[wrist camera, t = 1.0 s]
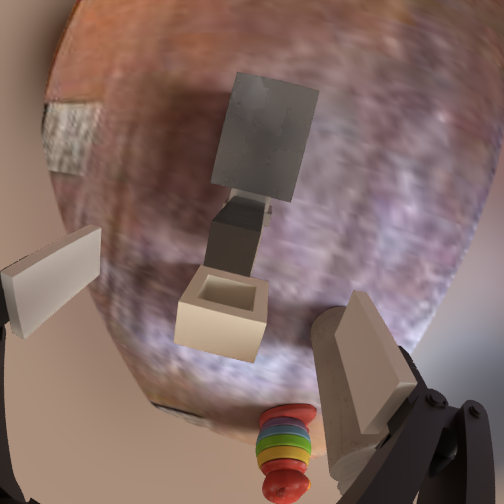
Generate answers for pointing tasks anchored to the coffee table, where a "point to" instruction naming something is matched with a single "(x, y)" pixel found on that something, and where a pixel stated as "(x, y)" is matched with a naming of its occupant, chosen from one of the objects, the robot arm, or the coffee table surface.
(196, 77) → the coffee table surface
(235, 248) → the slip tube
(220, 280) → the socket block
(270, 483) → the stacking bear
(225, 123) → the grey block
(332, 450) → the thermos bottle
